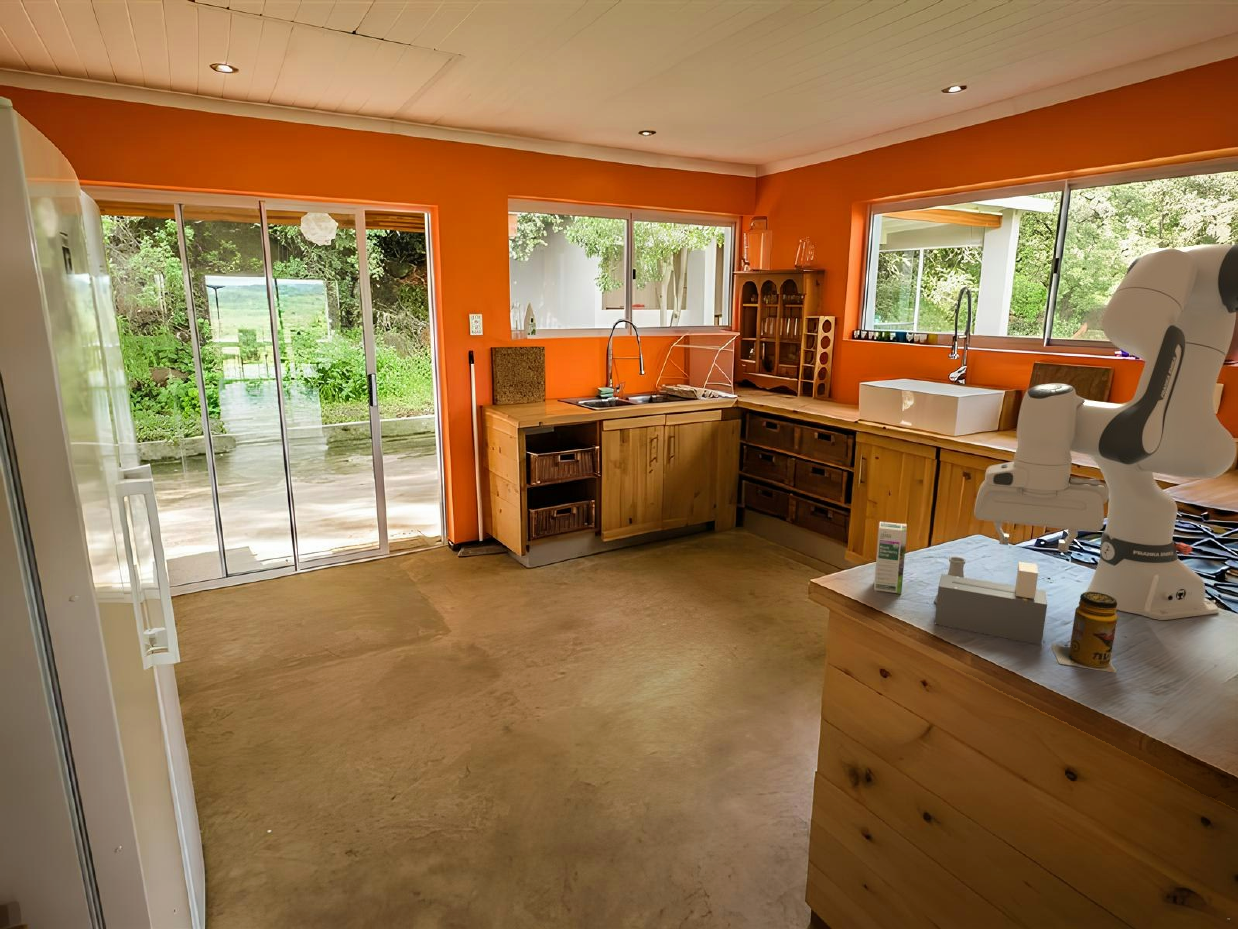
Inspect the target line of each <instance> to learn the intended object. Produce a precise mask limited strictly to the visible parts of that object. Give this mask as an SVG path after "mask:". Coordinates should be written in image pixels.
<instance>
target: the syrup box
mask: <svg viewBox="0 0 1238 929" xmlns="http://www.w3.org/2000/svg"><path fill="white" fill-rule="evenodd" d="M907 527H908V525H907V523H895V522H889V521H888V522H887V521H879V523H878V532H877V545H876V546H877V547H876V560H875V569H874V570H875V571H874V572H875V573H874V581H873V582H874V584H873V590H874V591H875V592H877V591H879V592H886V593H894V594H900V595H901V594H902V590H903V580H904V579H903V578H904V567H905V556H906V547H907V534H908V532H907Z"/></svg>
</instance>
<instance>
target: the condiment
mask: <svg viewBox="0 0 1238 929" xmlns="http://www.w3.org/2000/svg"><path fill="white" fill-rule="evenodd" d="M1116 606H1117V601H1116V600H1115V598H1113V597H1111V596H1109V595H1106V594H1103V593H1098V592H1086V591H1085V592H1083V593H1080V596H1079V602H1078V606H1077V607H1076V608H1075V611H1074V618H1073V623H1072V631H1071V638H1070V642H1069V643H1070V644H1069V646H1066V645H1064V646H1063V645H1060V644H1054V643H1051V648H1052V650H1053V653H1054V656H1055V657H1056V659H1057V662H1058V664H1059V665H1067V666H1074V667H1078V668H1079V667H1080V668H1086V669H1090V670H1095V671H1096V670H1097V671H1102V672H1109V673H1118V671H1117V670H1116V668H1115V667H1114V665H1113V663H1112V661H1111V658H1112V653H1113V646H1114V643H1115V635H1116V628H1117V624H1118V615H1117V614H1116V612H1117V609H1116Z"/></svg>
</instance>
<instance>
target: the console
mask: <svg viewBox="0 0 1238 929" xmlns="http://www.w3.org/2000/svg"><path fill="white" fill-rule="evenodd" d="M939 578H940V579H939V583H938V587H937V593H938V596H937V604H936V606H935V607H936V608H935V614H934V615H935V617H934V624H935V623H936V624H939V625H938V626H941V625H944V626H943V627H946V626H951V627H954V628H953V629H956V628H959V629H958V630H963V631H967V630H970V631H969V632H972V631H973V633H979V634H982V633H984V635H987V634H988V636H994V637H1000V638H1005V639H1008V640H1014V641H1019V642H1024V643H1030V644H1035V645H1039V646H1041V645H1042V644H1043V638H1044V637H1043V636H1044V629H1045V623H1046V617H1047V610H1048V600H1047V591H1046V590H1044V589H1039V588H1038V589H1037V588H1036V593H1035V599H1033V598H1027V597H1021V596H1016V585H1014V584H1013V585H1012V584H1006V583H999V582H993V581H987V580H981V579H976V578H969V577H965V576H964V577H957V576H951V575H948V574H944V573H941V574H940V577H939ZM936 624H935V625H936ZM951 627H950V628H951Z"/></svg>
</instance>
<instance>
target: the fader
mask: <svg viewBox="0 0 1238 929" xmlns="http://www.w3.org/2000/svg"><path fill="white" fill-rule="evenodd" d="M1016 573H1017V574H1016V579H1015V586H1016V596H1021V597H1027V598H1033V599H1035V593H1036V589H1037V584H1038V576H1039V568H1038V564H1037V563H1031V562H1025V561H1024V562H1023V561H1018V566H1017V572H1016Z"/></svg>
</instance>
